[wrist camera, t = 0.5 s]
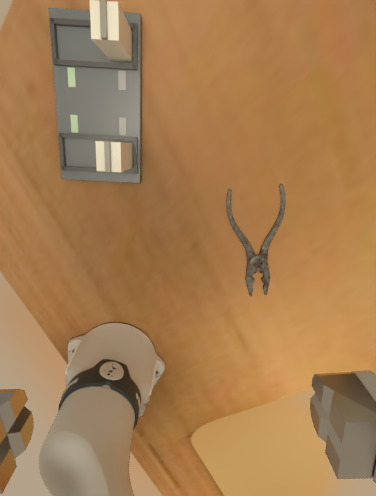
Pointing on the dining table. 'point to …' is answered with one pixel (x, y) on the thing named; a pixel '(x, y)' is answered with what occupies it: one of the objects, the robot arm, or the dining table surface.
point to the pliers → (260, 260)
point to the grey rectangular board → (94, 96)
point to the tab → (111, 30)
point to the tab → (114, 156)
